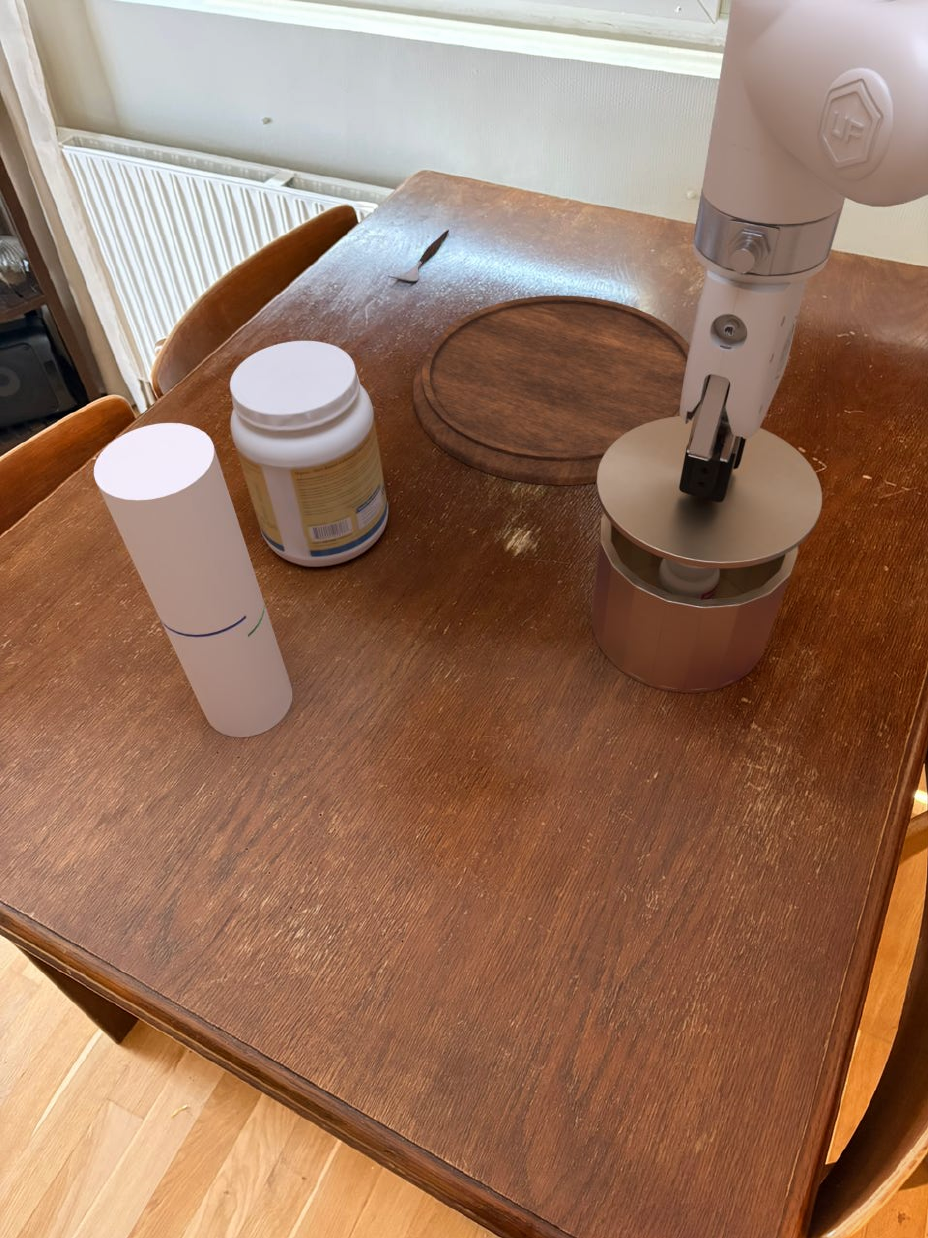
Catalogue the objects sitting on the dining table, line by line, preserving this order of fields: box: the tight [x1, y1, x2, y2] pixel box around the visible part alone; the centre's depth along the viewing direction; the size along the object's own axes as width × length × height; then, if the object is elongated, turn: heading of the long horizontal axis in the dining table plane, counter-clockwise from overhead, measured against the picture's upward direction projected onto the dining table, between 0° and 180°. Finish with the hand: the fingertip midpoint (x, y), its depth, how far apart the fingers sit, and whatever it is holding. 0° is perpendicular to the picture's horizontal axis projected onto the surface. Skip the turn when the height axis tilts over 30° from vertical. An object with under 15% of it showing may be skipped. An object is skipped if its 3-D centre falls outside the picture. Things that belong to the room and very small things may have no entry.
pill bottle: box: [656, 558, 720, 600], centre depth 72 cm, size 5×5×8 cm
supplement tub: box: [229, 340, 389, 568], centre depth 79 cm, size 12×12×17 cm
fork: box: [387, 229, 450, 282], centre depth 117 cm, size 3×16×2 cm, turn 157°
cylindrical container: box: [93, 422, 294, 738], centre depth 63 cm, size 7×7×25 cm
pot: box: [591, 512, 799, 694], centre depth 72 cm, size 15×15×10 cm
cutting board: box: [412, 294, 690, 486], centre depth 97 cm, size 32×32×2 cm
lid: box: [595, 416, 823, 569], centre depth 63 cm, size 16×16×7 cm
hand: (709, 476), depth 64 cm, fingers closed on lid, 3 cm apart
